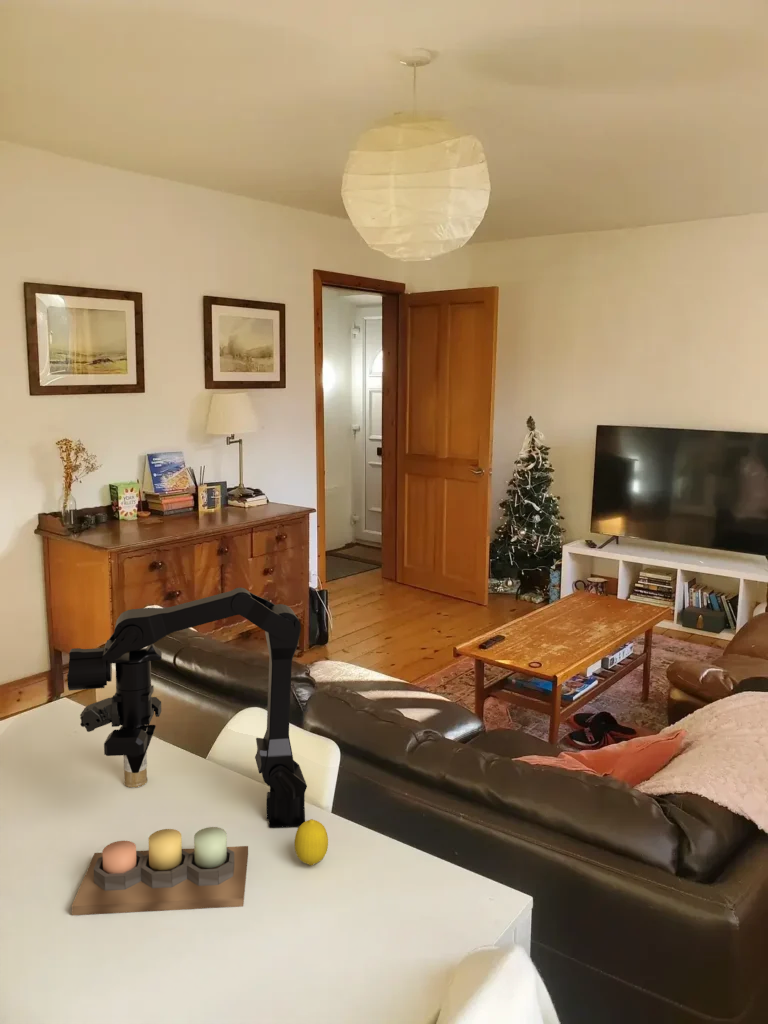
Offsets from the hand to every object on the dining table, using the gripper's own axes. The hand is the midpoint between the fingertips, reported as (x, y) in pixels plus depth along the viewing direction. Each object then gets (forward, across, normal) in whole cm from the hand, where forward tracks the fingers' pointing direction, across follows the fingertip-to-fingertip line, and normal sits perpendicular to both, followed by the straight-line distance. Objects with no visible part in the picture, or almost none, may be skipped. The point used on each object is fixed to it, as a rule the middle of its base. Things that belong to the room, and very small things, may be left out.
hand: (135, 771), depth 137 cm
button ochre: (+8, +14, +7) cm, 18 cm away
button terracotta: (+10, +14, 0) cm, 17 cm away
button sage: (+8, +14, +14) cm, 21 cm away
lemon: (+12, +11, +30) cm, 34 cm away
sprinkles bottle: (+12, -20, -4) cm, 24 cm away
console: (+12, +14, +7) cm, 20 cm away
